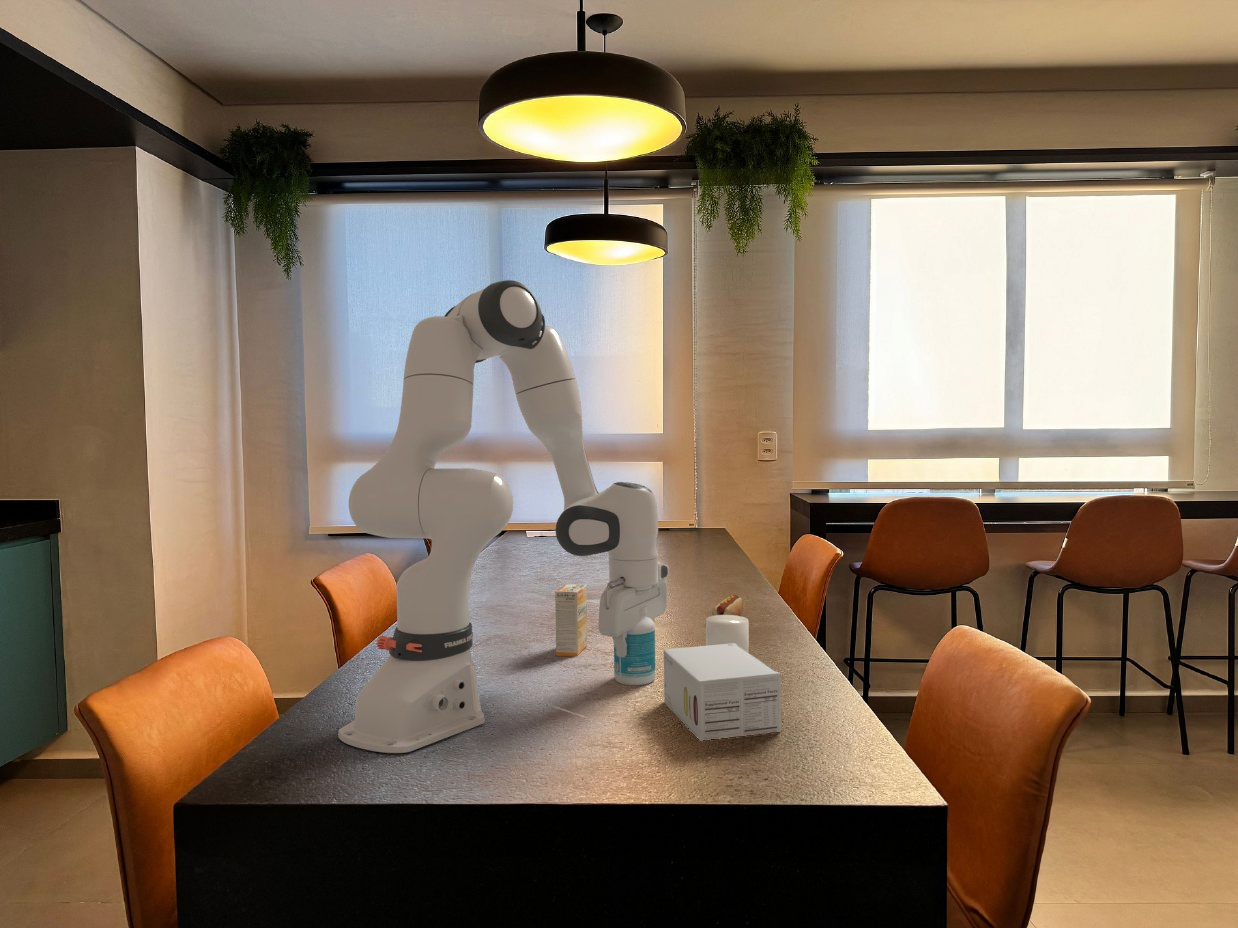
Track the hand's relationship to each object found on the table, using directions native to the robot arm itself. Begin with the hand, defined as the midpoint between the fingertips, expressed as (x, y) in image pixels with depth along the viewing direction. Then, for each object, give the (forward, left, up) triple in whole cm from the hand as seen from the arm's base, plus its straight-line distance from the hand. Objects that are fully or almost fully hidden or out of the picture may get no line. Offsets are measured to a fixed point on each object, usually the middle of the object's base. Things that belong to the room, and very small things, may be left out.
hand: (634, 649), depth 142 cm
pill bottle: (0, 0, -6) cm, 6 cm away
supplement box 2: (-10, -20, -6) cm, 23 cm away
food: (+51, +1, -6) cm, 51 cm away
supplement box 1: (+11, +20, -6) cm, 24 cm away
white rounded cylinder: (+15, -12, -6) cm, 20 cm away
